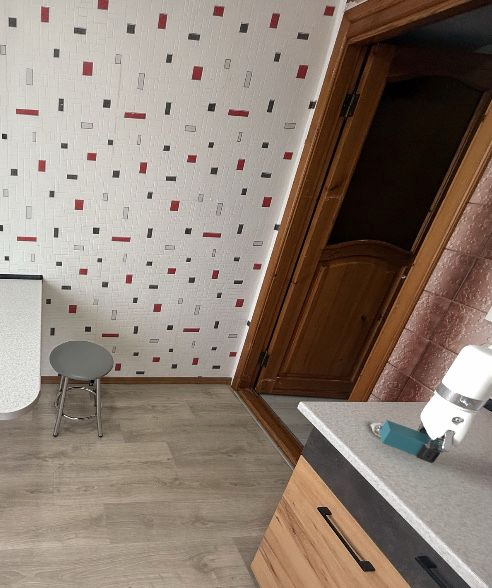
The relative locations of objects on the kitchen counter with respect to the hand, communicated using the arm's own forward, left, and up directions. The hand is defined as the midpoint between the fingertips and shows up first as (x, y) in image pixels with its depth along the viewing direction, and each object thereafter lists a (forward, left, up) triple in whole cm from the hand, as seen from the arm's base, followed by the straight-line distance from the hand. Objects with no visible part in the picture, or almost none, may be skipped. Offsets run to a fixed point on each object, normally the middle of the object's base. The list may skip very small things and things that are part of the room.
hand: (420, 451), depth 84 cm
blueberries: (+5, -8, -3) cm, 9 cm away
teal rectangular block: (+3, 0, +2) cm, 4 cm away
